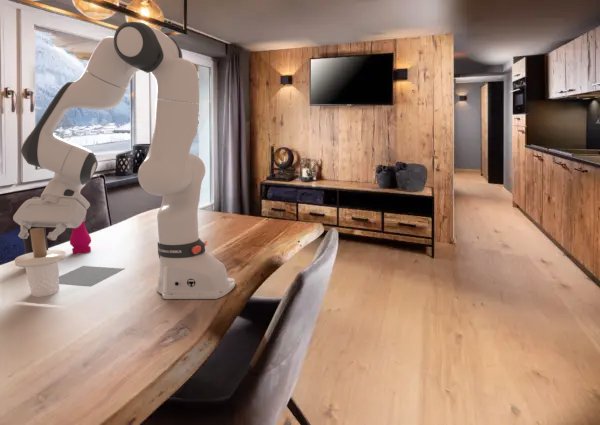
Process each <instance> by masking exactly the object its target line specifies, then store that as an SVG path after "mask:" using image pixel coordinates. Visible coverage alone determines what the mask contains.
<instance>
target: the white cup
mask: <svg viewBox="0 0 600 425" xmlns="http://www.w3.org/2000/svg"><path fill="white" fill-rule="evenodd" d="M24 268H25V273H26V277H27V282H28V286H29V288H30V294H31V296H32V297H37V298H38V297H39V298H40V297H46V296H51V295H54V294H56V293H57V292H59V291H60V284H59V276H60V271H59V262H56V263H53V264H49V265H44V266H37V267H24Z"/></svg>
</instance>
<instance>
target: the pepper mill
mask: <svg viewBox="0 0 600 425" xmlns="http://www.w3.org/2000/svg"><path fill="white" fill-rule="evenodd" d="M85 221H86V217H85V218H84V220H83V222H82V224H81V225H80V226H79V227H77V228H72V231H71V235H70V238H69V245H70V246H72V248H71V250H72V251H71V252H72V254H74V255H77V254H88V253H90V252H91V251H92V248H91V246H90V244H91V243H92V237H91V236H90V234H89V232H88V231H87V229H86V224H85Z"/></svg>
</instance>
